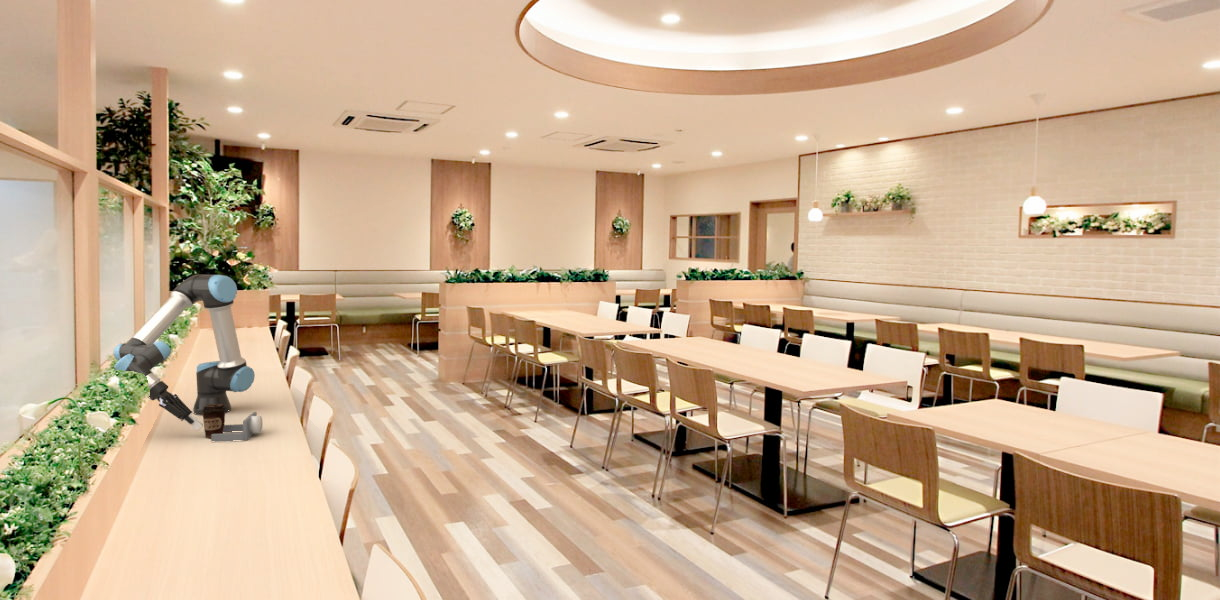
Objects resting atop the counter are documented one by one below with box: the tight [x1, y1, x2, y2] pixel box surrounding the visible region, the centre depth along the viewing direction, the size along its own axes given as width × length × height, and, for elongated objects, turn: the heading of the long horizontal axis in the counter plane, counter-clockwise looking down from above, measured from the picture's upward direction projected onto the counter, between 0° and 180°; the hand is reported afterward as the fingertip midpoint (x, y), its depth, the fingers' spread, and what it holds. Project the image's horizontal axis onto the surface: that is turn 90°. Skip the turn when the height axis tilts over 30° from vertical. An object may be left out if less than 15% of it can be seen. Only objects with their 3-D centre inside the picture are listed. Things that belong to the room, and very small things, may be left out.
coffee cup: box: [202, 404, 227, 439], centre depth 287 cm, size 9×8×13 cm
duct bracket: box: [210, 411, 264, 442], centre depth 289 cm, size 15×16×8 cm
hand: (200, 427), depth 285 cm, fingers closed
